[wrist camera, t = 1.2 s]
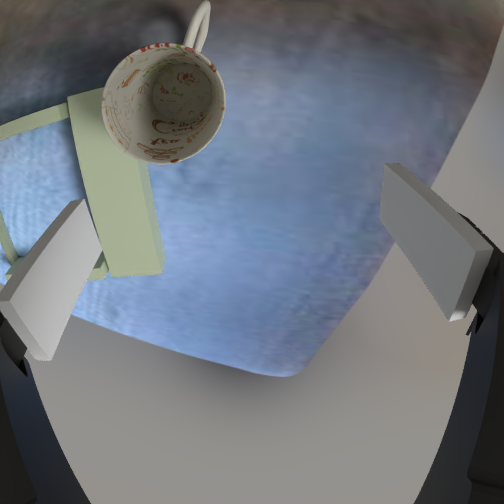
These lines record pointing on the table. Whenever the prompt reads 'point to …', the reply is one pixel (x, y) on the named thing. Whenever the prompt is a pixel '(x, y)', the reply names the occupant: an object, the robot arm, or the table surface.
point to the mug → (165, 98)
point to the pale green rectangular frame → (103, 191)
